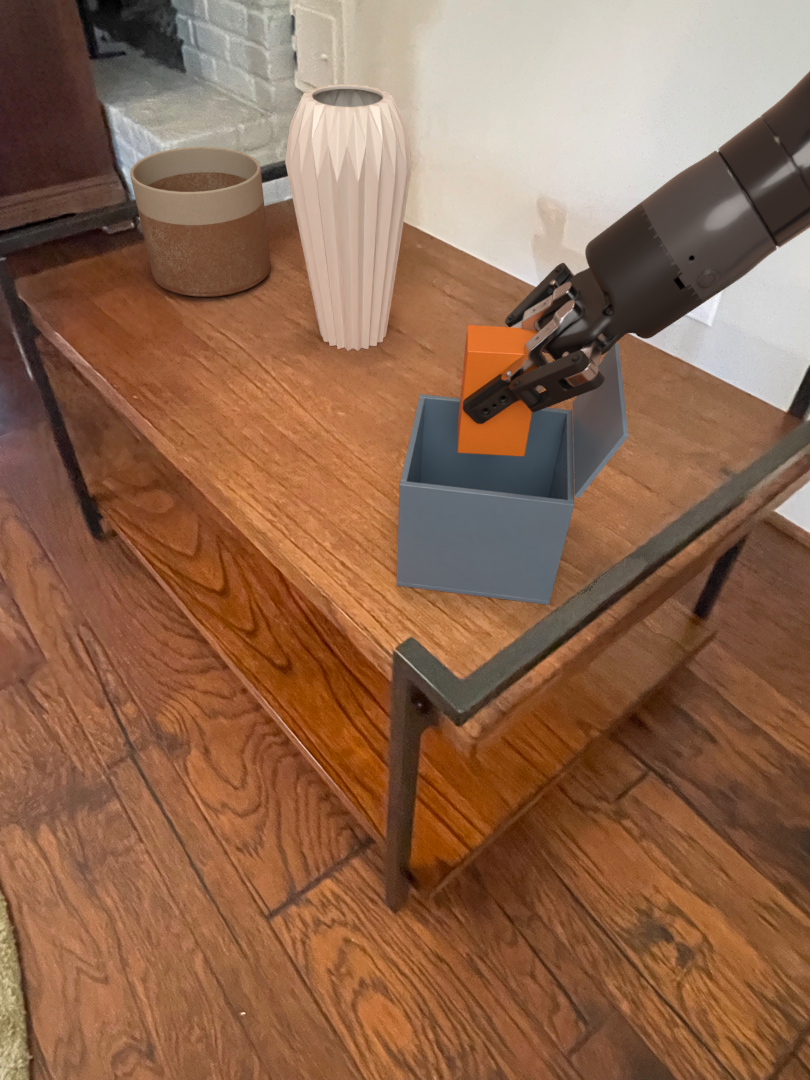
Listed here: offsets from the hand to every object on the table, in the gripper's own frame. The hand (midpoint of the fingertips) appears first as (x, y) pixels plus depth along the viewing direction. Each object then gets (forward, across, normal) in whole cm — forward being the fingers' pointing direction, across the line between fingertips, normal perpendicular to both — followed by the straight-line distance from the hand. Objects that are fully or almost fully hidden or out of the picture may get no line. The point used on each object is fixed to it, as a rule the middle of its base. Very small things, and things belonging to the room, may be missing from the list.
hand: (470, 397), depth 57 cm
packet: (+1, 0, +4) cm, 4 cm away
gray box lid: (-6, +1, +7) cm, 9 cm away
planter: (+35, -50, -12) cm, 62 cm away
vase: (+20, -36, +2) cm, 41 cm away
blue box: (+10, 0, +13) cm, 16 cm away
